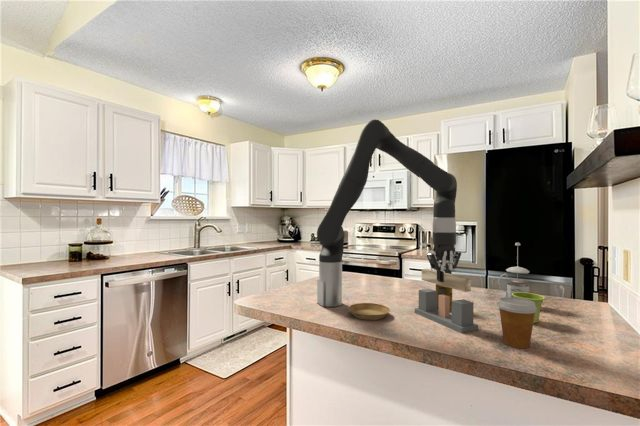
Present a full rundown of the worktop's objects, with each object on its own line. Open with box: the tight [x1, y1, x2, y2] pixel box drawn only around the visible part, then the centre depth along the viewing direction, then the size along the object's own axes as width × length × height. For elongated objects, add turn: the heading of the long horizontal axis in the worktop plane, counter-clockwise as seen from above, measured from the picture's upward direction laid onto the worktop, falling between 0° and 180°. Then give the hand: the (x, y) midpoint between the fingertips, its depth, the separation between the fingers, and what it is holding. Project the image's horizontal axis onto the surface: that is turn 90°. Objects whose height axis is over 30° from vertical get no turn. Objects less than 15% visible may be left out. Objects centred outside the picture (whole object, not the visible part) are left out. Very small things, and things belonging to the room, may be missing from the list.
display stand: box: [414, 288, 479, 334], centre depth 111 cm, size 7×22×8 cm, turn 23°
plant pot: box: [512, 291, 545, 324], centre depth 111 cm, size 9×9×9 cm
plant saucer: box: [348, 302, 391, 321], centre depth 117 cm, size 15×15×3 cm
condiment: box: [435, 284, 453, 312], centre depth 125 cm, size 7×8×12 cm
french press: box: [497, 242, 530, 298], centre depth 130 cm, size 10×12×25 cm
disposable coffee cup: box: [497, 296, 537, 349], centre depth 92 cm, size 10×10×12 cm
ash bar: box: [421, 268, 472, 293], centre depth 111 cm, size 2×20×4 cm, turn 23°
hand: (444, 281), depth 111 cm, fingers closed on ash bar, 2 cm apart
